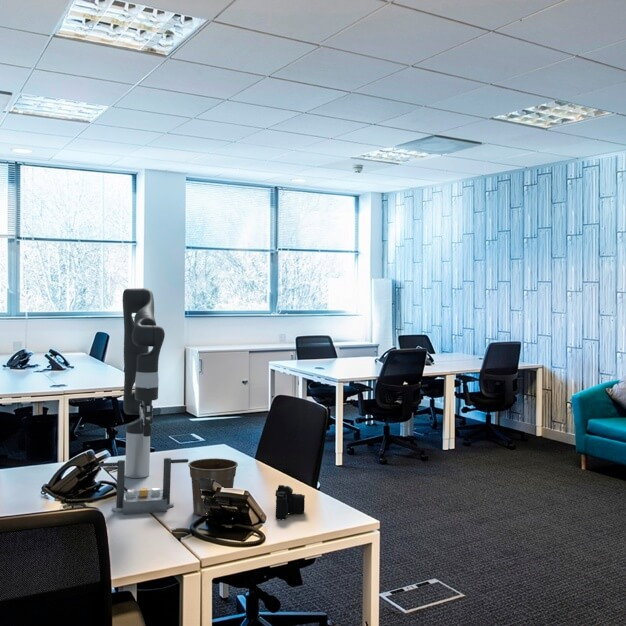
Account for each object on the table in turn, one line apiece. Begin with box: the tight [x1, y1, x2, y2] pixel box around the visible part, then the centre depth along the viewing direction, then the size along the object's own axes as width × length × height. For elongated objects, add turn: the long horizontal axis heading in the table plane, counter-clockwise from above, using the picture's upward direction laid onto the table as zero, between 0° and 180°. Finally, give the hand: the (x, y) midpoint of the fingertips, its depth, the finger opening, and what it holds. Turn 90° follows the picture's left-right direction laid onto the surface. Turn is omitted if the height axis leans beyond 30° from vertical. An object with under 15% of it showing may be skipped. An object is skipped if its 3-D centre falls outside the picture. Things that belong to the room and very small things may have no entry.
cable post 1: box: [98, 459, 126, 513], centre depth 220 cm, size 5×10×16 cm, turn 110°
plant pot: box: [187, 457, 239, 517], centre depth 221 cm, size 16×16×16 cm
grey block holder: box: [122, 487, 168, 516], centre depth 223 cm, size 12×14×6 cm
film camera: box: [274, 484, 306, 521], centre depth 223 cm, size 15×10×9 cm, turn 178°
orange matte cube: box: [139, 487, 148, 497], centre depth 223 cm, size 2×2×2 cm
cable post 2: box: [162, 457, 189, 509], centre depth 227 cm, size 5×10×16 cm, turn 110°
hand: (145, 433), depth 223 cm, fingers open, 8 cm apart
